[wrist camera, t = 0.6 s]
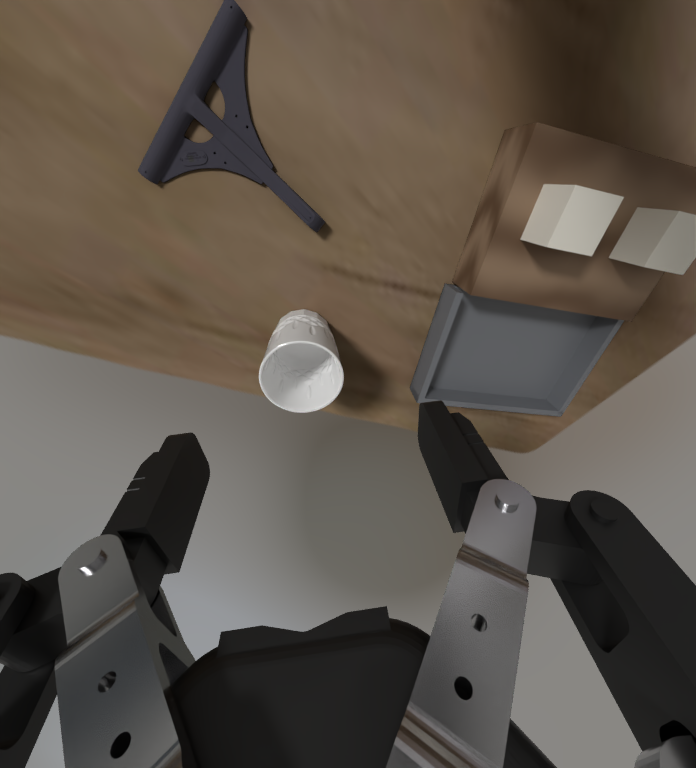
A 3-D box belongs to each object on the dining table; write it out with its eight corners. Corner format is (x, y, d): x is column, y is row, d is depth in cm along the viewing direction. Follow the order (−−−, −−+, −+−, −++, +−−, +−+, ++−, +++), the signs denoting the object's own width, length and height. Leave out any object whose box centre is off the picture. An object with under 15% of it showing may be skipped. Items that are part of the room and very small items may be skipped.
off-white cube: (637, 207, 30) (679, 210, 26) (675, 216, 31) (720, 221, 27) (608, 257, 32) (643, 267, 29) (644, 265, 33) (683, 275, 30)
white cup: (310, 290, 36) (310, 324, 27) (348, 342, 40) (359, 386, 31) (255, 328, 38) (240, 372, 29) (297, 375, 41) (294, 425, 33)
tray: (444, 283, 37) (456, 292, 34) (601, 310, 41) (624, 320, 38) (409, 388, 44) (416, 402, 41) (545, 402, 48) (560, 416, 45)
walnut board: (504, 130, 30) (537, 122, 26) (676, 177, 33) (728, 176, 29) (452, 281, 37) (470, 295, 33) (597, 306, 41) (631, 321, 36)
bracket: (278, 279, 35) (276, 286, 33) (142, 169, 29) (128, 168, 27) (369, 162, 31) (374, 161, 28) (230, 0, 24) (222, -19, 22)
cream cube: (543, 184, 28) (575, 184, 25) (587, 194, 29) (624, 197, 25) (520, 239, 30) (546, 247, 27) (561, 248, 31) (591, 256, 28)
